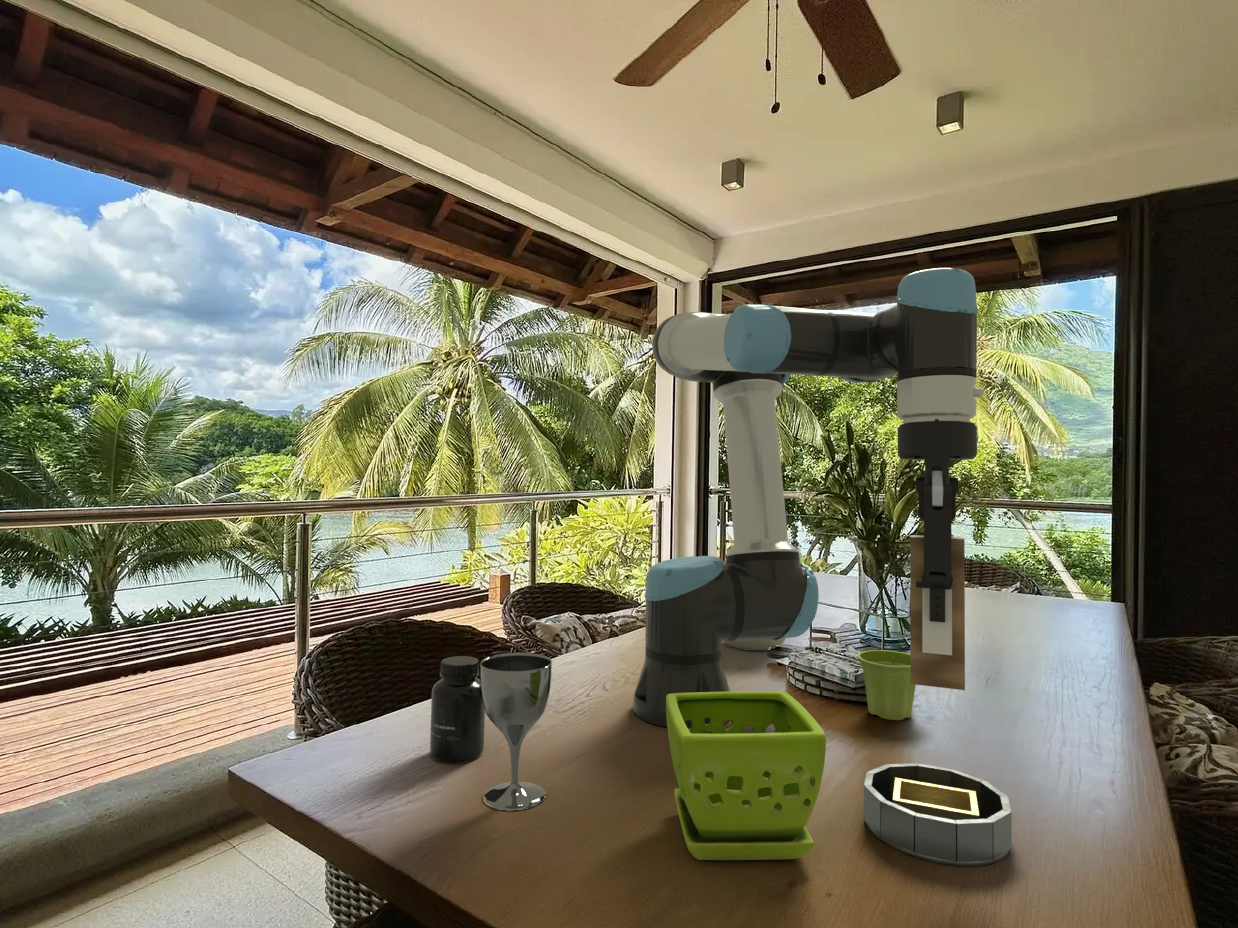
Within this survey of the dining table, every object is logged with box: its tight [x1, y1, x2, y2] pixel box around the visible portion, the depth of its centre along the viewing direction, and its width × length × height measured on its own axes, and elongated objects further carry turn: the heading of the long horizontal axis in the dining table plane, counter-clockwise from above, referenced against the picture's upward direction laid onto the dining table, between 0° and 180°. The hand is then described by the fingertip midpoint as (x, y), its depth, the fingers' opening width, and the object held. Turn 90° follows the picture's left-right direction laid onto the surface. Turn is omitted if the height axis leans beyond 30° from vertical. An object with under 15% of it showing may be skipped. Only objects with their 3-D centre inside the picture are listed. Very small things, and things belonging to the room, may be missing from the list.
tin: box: [863, 762, 1012, 867], centre depth 72 cm, size 14×14×4 cm
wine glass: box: [479, 652, 553, 812], centre depth 78 cm, size 8×8×15 cm
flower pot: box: [666, 690, 827, 861], centre depth 70 cm, size 14×14×13 cm
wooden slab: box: [909, 534, 966, 691], centre depth 72 cm, size 5×3×15 cm, turn 66°
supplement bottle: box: [429, 655, 486, 764], centre depth 90 cm, size 7×7×12 cm
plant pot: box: [857, 649, 917, 721], centre depth 107 cm, size 9×9×9 cm
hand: (936, 648), depth 72 cm, fingers closed on wooden slab, 3 cm apart
